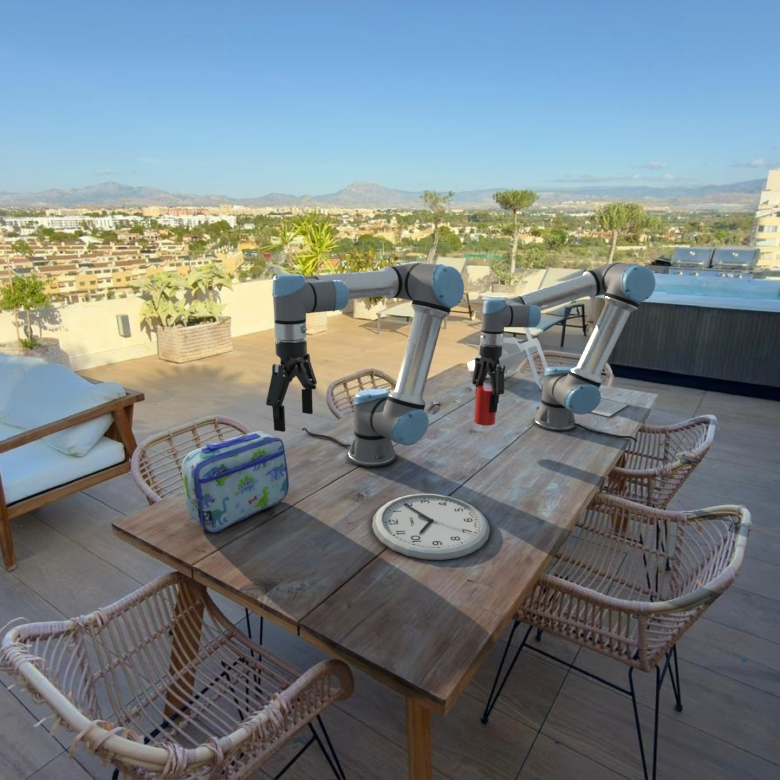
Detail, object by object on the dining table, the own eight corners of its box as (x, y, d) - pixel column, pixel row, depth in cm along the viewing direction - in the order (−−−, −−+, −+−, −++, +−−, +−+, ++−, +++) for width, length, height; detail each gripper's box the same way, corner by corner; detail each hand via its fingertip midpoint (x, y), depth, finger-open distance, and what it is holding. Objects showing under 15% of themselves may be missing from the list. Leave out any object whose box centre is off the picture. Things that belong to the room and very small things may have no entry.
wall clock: (505, 551, 121) (375, 556, 118) (504, 557, 121) (375, 562, 119) (474, 489, 149) (369, 491, 147) (474, 494, 150) (369, 497, 147)
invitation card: (608, 416, 214) (573, 407, 224) (608, 416, 214) (573, 408, 224) (628, 404, 229) (594, 396, 238) (628, 405, 229) (594, 397, 238)
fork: (425, 411, 216) (425, 407, 215) (435, 400, 230) (435, 396, 230) (431, 412, 215) (431, 408, 214) (441, 401, 229) (441, 396, 229)
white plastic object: (487, 418, 267) (468, 395, 242) (469, 346, 289) (449, 318, 264) (558, 394, 255) (545, 368, 230) (533, 321, 277) (518, 289, 252)
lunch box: (202, 541, 125) (194, 461, 119) (183, 523, 133) (174, 447, 126) (293, 503, 143) (290, 432, 137) (271, 490, 150) (268, 421, 144)
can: (484, 427, 180) (487, 392, 177) (470, 420, 186) (472, 387, 182) (499, 423, 185) (502, 389, 181) (484, 417, 190) (486, 384, 186)
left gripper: (275, 351, 114) (280, 441, 121) (328, 331, 137) (329, 408, 143) (247, 348, 117) (252, 436, 123) (303, 329, 139) (305, 404, 145)
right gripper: (464, 339, 184) (460, 401, 191) (501, 351, 167) (495, 419, 174) (481, 338, 187) (477, 398, 194) (519, 350, 170) (513, 416, 177)
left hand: (294, 421), depth 133 cm, fingers open, 13 cm apart
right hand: (485, 408), depth 184 cm, fingers closed on can, 7 cm apart
